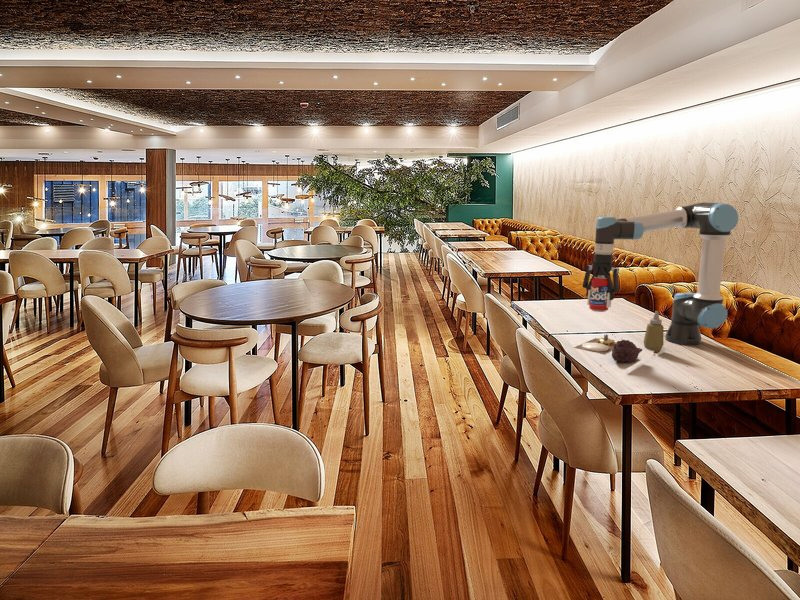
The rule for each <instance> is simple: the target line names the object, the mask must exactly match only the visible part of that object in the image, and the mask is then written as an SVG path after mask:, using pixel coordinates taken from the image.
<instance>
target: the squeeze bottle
mask: <svg viewBox="0 0 800 600" xmlns="http://www.w3.org/2000/svg"><path fill="white" fill-rule="evenodd" d="M662 322H663V320H662V319H660V315H659V311H658V310H657V311H656V310H655V312H654V315H653V317H652V318H650V319H649V323H647V324H646V325H647V326H646V330H645V334H644V338H643V345H644V348H645V349H647V350H650V351H653V352H652V353H654V354H656V353H657V354H658V353H661V350H662V349H663V347H664V343H665V341H664V325H663V324H662Z"/></svg>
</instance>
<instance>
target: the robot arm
mask: <svg viewBox="0 0 800 600" xmlns="http://www.w3.org/2000/svg"><path fill="white" fill-rule="evenodd" d="M738 223H739V214H738V210H737V209H736V208H735V206H733V205H731V204H729V203H724V202H706V201H705V202H698V203H694V204H689V205H684V206H679V207H676V208H675V209H674V210H668V211H661V212H655V213H649V214H642V215H635V216H631V217H629V216H628V217H624V218H617V217H615V216H599V217H598V218H597V219H596V223H595V224H596V225H595V240H594V247H593V248H594V250H593V252H594V254H593V263H592V264H588V265H586V266H585V275H584V278H583V283H582V288H584V289H586V293H585V294H586V295H585V297H587V303H586V304H587V305H588V306H589V303H590V291H591V280H592V279H593V276H604V277H605V278H607V280H608V288H609V291H610V292H608V295H607V306H606V308H608V309H609V308H611V307H612V301H613V300H614V298H615V297H614V296H615V293H616V292H619V291H620V285H619V283H620V281H619V272H620V268H619V267H617V268H616V267H614V266H613V265H612V264H613V258H614V257H613V254H614V243H615V240H631V241H634V240H639V239H641V238H643V235H644V233H647V232H652V231H659V230H660V231H661V230H666V229H672V228H678V229H688V228H691V229H699V232H698V233H699V234H698V235H699V236H700V237H701V238H702V240H701V241H702V243H701V253H700V262H699V270H698V271H699V273H698V282H697V291H696V292H677V293H675V294H674V295H673V300H672V303H673V304H672V313H671V322H670V325H669V326H668V328H667V331H666V333H665V335H664V336H665V338H664V340H666V341H667V342H671V343H673V344H677V345H678V344H679V345H686V346H695V345H696V344H697V345H700V344H701V343H702V334H701V331H700V327H701V328H706V329H711V330H712V329H716V328H718V327H720V326H721V325H723V324H724V322H726V320H727V317H728V309H727V308H726V306H725V305H724V304H723V303H724V297H723V296H722V295H721V283H722V276H723V275H722V274H723V266H724V265H723V264H724V257H725V256H724V255H725V247H726V240H727V239H728V237H730V236H731V232H732V231H733V230H734V229H735V227H737V225H738ZM612 253H613V254H612ZM592 270H593V271H594V272H593V273H592ZM610 272H612V276H611V273H610ZM591 273H592V276H591ZM611 277H612V278H611ZM699 326H700V327H699Z"/></svg>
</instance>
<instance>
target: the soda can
mask: <svg viewBox="0 0 800 600" xmlns="http://www.w3.org/2000/svg"><path fill="white" fill-rule="evenodd" d="M592 276H593V275H592ZM590 280H591V279H590ZM608 292H610V291H609V288H608V280H607V278H605V277H604V276H603V275H598V276H593V279H592V280H591V291H590V303H589V305H588V308H589V310H591V311H592V312H597V313H604V312H607V311H608V310H609V308H606V306H607V295H608Z"/></svg>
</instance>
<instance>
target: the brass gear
mask: <svg viewBox="0 0 800 600" xmlns="http://www.w3.org/2000/svg"><path fill="white" fill-rule="evenodd" d="M596 338H597V343H600V344H604V345H607V346H610V345H614V342H615V340H614V339H611V338H609V334H606V333H604V334H603V337H600V338H598V337H596Z"/></svg>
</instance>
